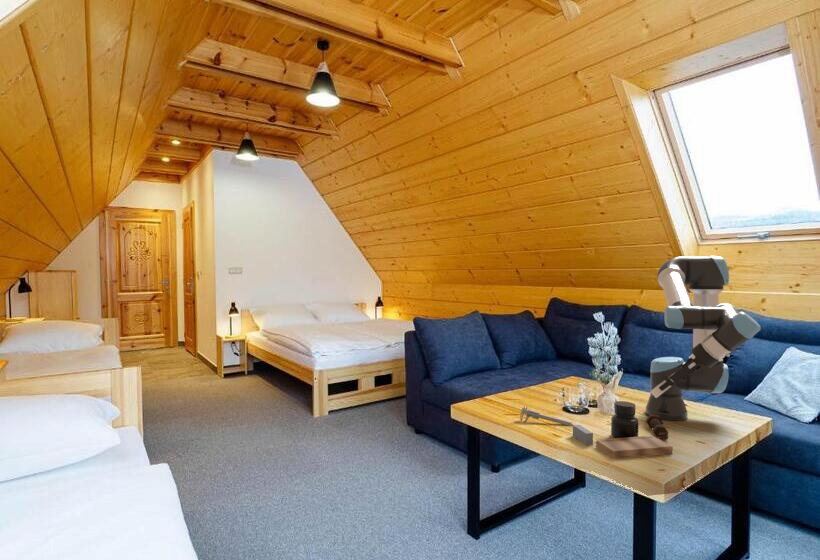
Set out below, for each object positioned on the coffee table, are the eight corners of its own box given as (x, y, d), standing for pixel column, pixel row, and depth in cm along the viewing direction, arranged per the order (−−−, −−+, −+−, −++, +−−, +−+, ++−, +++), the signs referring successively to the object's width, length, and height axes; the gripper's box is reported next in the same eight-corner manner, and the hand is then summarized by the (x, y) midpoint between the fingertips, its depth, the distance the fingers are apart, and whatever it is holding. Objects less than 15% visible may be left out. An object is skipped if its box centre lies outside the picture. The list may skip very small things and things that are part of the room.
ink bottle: (639, 435, 172) (639, 402, 172) (640, 443, 164) (640, 408, 164) (610, 431, 176) (610, 399, 176) (609, 439, 168) (609, 405, 168)
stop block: (579, 435, 172) (579, 424, 172) (592, 444, 163) (592, 433, 163) (572, 436, 172) (572, 425, 172) (586, 445, 163) (586, 433, 163)
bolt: (660, 446, 166) (651, 430, 180) (674, 441, 165) (664, 425, 179) (651, 432, 167) (643, 417, 181) (665, 426, 165) (656, 411, 180)
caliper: (520, 421, 189) (520, 406, 188) (520, 420, 190) (520, 405, 189) (575, 426, 182) (575, 410, 182) (574, 425, 183) (575, 409, 183)
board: (651, 442, 165) (651, 435, 165) (672, 453, 155) (672, 446, 155) (596, 446, 161) (596, 439, 161) (613, 458, 151) (613, 450, 151)
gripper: (713, 366, 141) (657, 407, 151) (725, 355, 160) (674, 392, 170) (693, 346, 144) (639, 388, 154) (707, 338, 163) (658, 375, 173)
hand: (658, 390), depth 162 cm, fingers open, 13 cm apart
